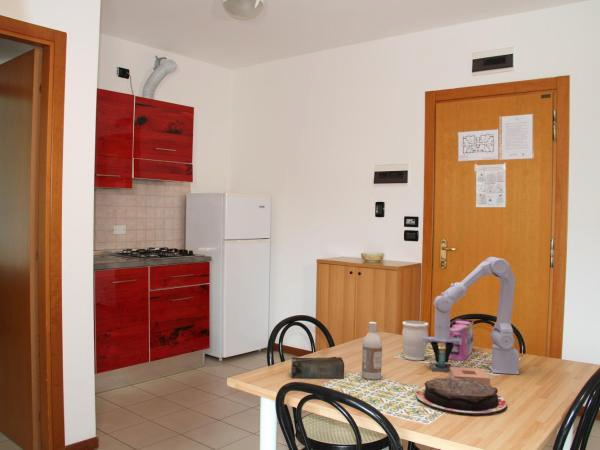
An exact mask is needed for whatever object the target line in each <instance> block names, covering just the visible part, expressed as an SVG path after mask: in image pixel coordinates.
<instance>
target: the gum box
mask: <svg viewBox="0 0 600 450" xmlns="http://www.w3.org/2000/svg"><path fill="white" fill-rule="evenodd" d="M450 338H460V339H462V344H453V345H454V347H453V349H452V351H451V353H450V355H449V358H448V360H453V361H458V362H459V361H460V362H464V361H465V360H466V359H467V358H468V357H469V355H471V354H472V353H473V352H474V320H471V319H463V318H462V319H461V318H456V319H455V320H453V321H452V322H450ZM444 349H446V348H444Z"/></svg>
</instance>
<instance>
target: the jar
mask: <svg viewBox="0 0 600 450" xmlns="http://www.w3.org/2000/svg"><path fill="white" fill-rule="evenodd" d="M402 325H403V327H402V333H401V340H402V341H401V342H402V348H403V351H404V355H403V356H404V359H406V360H407V361H408V360H409V361H417V362H418V361H424V360H425V359H426V357H425V353H426V351H427V347H428V342H426V343H423V337H429V332H428V327H429V322H426V321H422V320H420V321H419V320H404V321H402Z"/></svg>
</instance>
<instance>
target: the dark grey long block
mask: <svg viewBox="0 0 600 450" xmlns="http://www.w3.org/2000/svg"><path fill="white" fill-rule="evenodd" d="M290 369H291V379H307V380H309V379H310V380H311V379H313V380H314V379H317V380H318V379H322V378H324V379H345V361H344V360H343V358H342V357H339V356H338V357H337V356H331V357H291V366H290ZM322 380H323V379H322Z"/></svg>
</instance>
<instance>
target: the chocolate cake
mask: <svg viewBox="0 0 600 450" xmlns="http://www.w3.org/2000/svg"><path fill="white" fill-rule="evenodd" d="M498 391H499V390H498V388H497V387H493V386H491V385H490V386H488V385H485V384H482V383H480V382H477V381H474V380H471V379H466V378H462V377H458V378H451V377H450V376H449V377H437V378H434V379H432V380H427V381H425V382H424V386H422V387H420V388H418V389H417V390H416V392H415V397H416V398H417V401H419V402H421V403H423V404H426V405H428V406H429V407H430V408H431V409H435V410H438V411H441V412H446V413H449V414H453V415H454V414H455V415H459V416H463V415H469V416H475V417H477V416H478V417H479V416H481V415H486V416H493V415H494V414H496V413H497V414H498V412H500V411H503V410H504V409H505V408H507V405H508V404H507V401H506V399H505V398H504V397H503V396H501V395H499V394H498Z"/></svg>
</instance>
